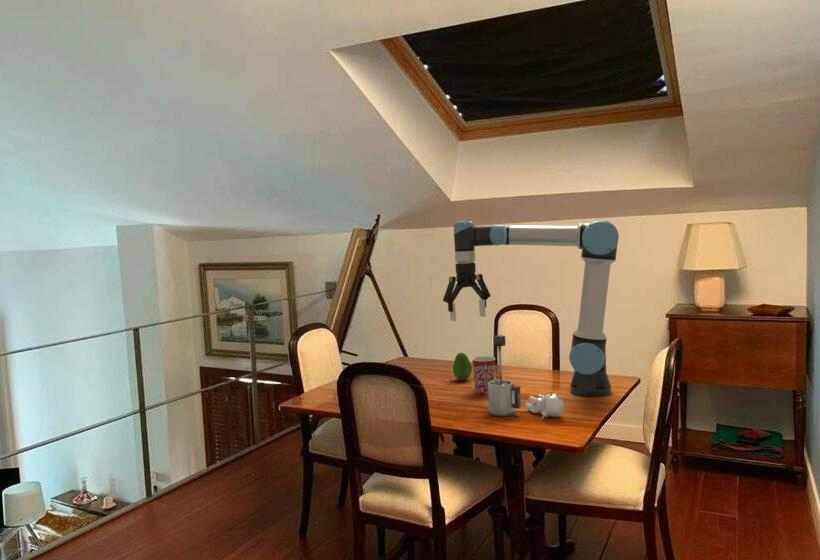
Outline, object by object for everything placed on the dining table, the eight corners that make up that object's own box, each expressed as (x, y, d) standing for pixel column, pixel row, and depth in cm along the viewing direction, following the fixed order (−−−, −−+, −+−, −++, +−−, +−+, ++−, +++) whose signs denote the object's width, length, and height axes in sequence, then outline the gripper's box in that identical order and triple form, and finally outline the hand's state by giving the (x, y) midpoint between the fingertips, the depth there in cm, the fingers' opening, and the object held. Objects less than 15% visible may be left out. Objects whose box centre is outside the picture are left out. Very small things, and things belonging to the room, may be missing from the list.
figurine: (531, 385, 215) (559, 385, 201) (545, 398, 217) (574, 399, 203) (517, 410, 210) (545, 412, 197) (531, 423, 212) (560, 426, 199)
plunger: (511, 385, 212) (509, 335, 210) (505, 389, 207) (504, 338, 205) (496, 384, 214) (494, 334, 213) (490, 387, 209) (488, 337, 208)
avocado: (452, 382, 258) (451, 354, 257) (454, 378, 265) (453, 350, 264) (471, 382, 256) (470, 354, 255) (472, 378, 264) (471, 350, 263)
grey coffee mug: (524, 411, 212) (523, 381, 211) (514, 418, 204) (513, 387, 203) (494, 408, 217) (493, 378, 217) (484, 415, 209) (483, 384, 209)
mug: (499, 394, 235) (497, 359, 234) (475, 396, 234) (474, 361, 233) (491, 386, 248) (490, 353, 247) (469, 388, 247) (468, 355, 246)
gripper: (486, 260, 241) (488, 314, 243) (431, 264, 229) (435, 321, 231) (497, 260, 235) (500, 315, 236) (442, 264, 223) (445, 323, 224)
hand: (468, 318), depth 233 cm, fingers open, 13 cm apart
